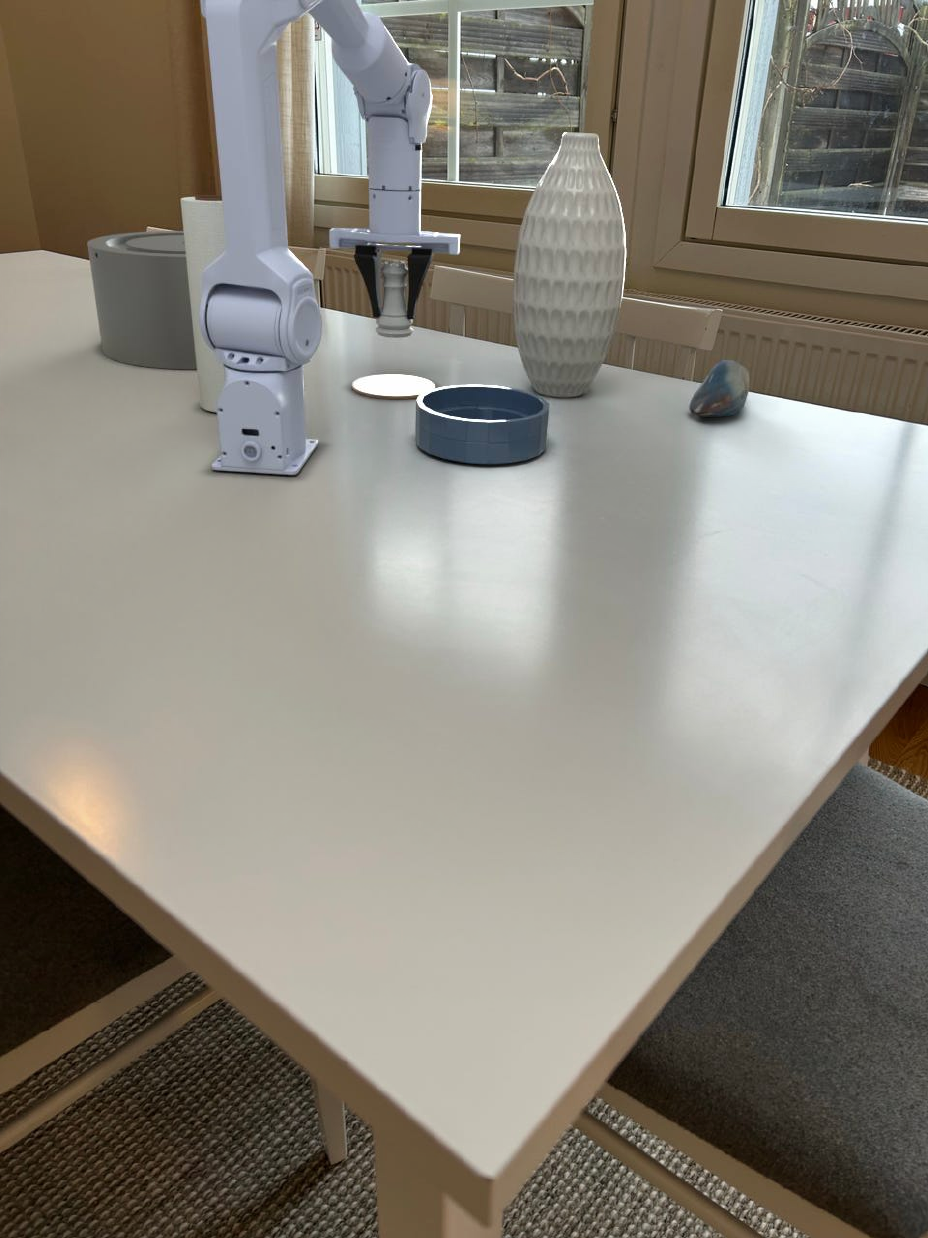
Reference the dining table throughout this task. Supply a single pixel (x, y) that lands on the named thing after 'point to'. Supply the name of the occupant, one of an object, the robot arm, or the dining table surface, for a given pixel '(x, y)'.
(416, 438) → the bowl
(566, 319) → the vase
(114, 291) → the container
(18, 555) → the dining table surface
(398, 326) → the rook chess piece
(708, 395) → the seashell
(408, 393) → the coaster
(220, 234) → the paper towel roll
